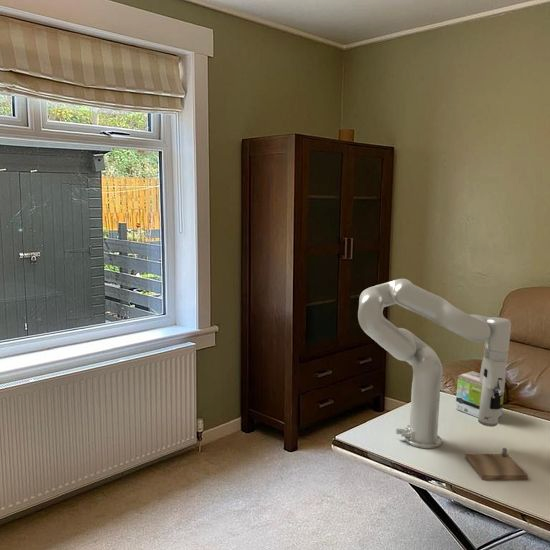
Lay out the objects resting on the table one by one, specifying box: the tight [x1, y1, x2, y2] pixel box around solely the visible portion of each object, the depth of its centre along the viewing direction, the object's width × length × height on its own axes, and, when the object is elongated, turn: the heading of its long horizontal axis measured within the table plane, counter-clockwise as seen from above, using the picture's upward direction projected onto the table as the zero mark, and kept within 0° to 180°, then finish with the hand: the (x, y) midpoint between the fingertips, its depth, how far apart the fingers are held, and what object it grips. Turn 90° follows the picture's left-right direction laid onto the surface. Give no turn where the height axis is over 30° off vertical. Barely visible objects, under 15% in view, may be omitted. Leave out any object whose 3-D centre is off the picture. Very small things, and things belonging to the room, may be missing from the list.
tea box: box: [455, 370, 505, 418], centre depth 221 cm, size 15×10×15 cm
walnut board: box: [464, 447, 529, 481], centre depth 176 cm, size 14×14×4 cm
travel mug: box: [477, 369, 499, 428], centre depth 190 cm, size 6×7×20 cm
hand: (490, 404), depth 191 cm, fingers closed on travel mug, 6 cm apart
